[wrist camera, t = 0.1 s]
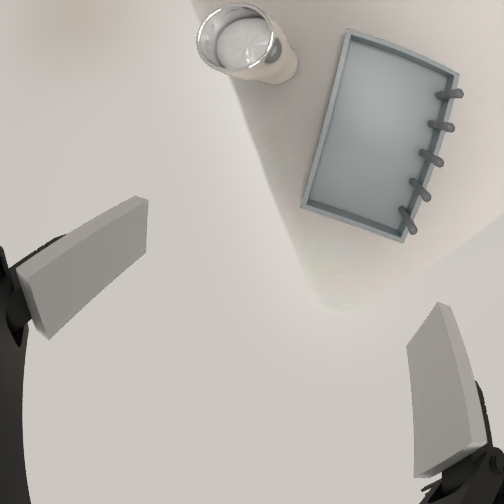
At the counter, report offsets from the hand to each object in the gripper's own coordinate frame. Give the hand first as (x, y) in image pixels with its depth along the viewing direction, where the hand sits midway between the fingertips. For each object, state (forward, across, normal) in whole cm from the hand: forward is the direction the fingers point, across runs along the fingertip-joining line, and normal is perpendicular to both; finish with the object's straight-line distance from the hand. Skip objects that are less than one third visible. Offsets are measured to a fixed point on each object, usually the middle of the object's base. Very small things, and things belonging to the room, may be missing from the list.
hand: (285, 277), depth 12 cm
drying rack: (+28, +6, +6) cm, 29 cm away
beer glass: (+28, -9, +11) cm, 32 cm away
